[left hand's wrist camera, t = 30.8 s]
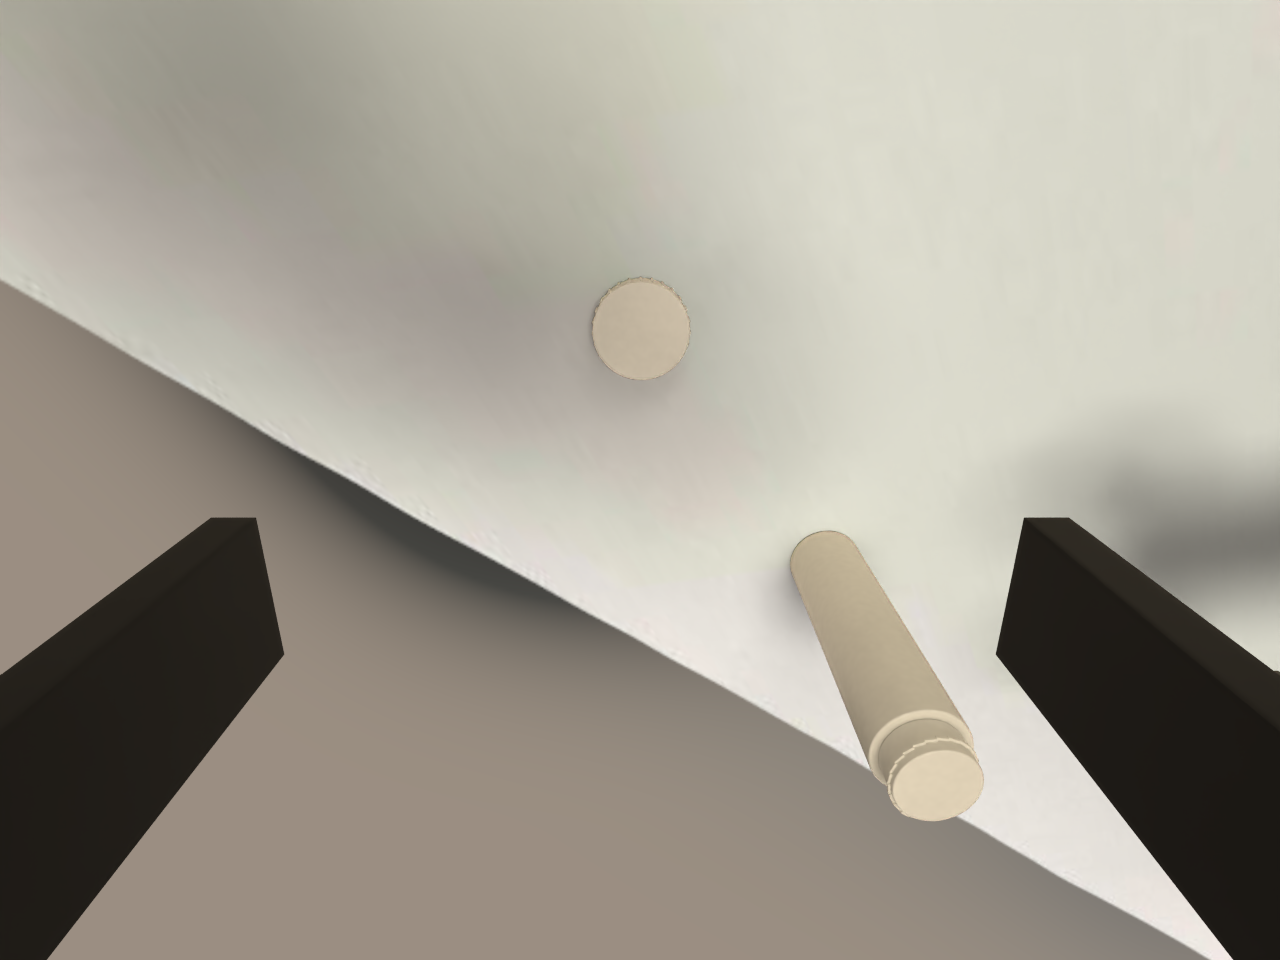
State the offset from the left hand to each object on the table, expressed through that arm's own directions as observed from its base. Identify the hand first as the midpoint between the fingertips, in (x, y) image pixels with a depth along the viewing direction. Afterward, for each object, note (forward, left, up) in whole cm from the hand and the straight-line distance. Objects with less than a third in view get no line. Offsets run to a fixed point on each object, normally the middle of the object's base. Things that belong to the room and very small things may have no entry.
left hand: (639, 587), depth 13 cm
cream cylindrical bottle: (+18, -6, -29) cm, 35 cm away
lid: (0, 0, -28) cm, 28 cm away
